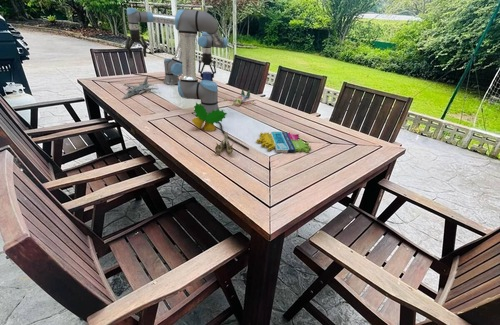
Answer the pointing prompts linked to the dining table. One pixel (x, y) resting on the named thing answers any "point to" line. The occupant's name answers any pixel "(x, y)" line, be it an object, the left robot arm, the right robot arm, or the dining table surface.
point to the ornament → (207, 117)
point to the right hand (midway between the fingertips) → (207, 81)
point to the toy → (241, 99)
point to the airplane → (138, 89)
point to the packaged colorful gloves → (283, 142)
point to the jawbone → (224, 145)
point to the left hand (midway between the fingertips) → (138, 57)
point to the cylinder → (207, 76)
